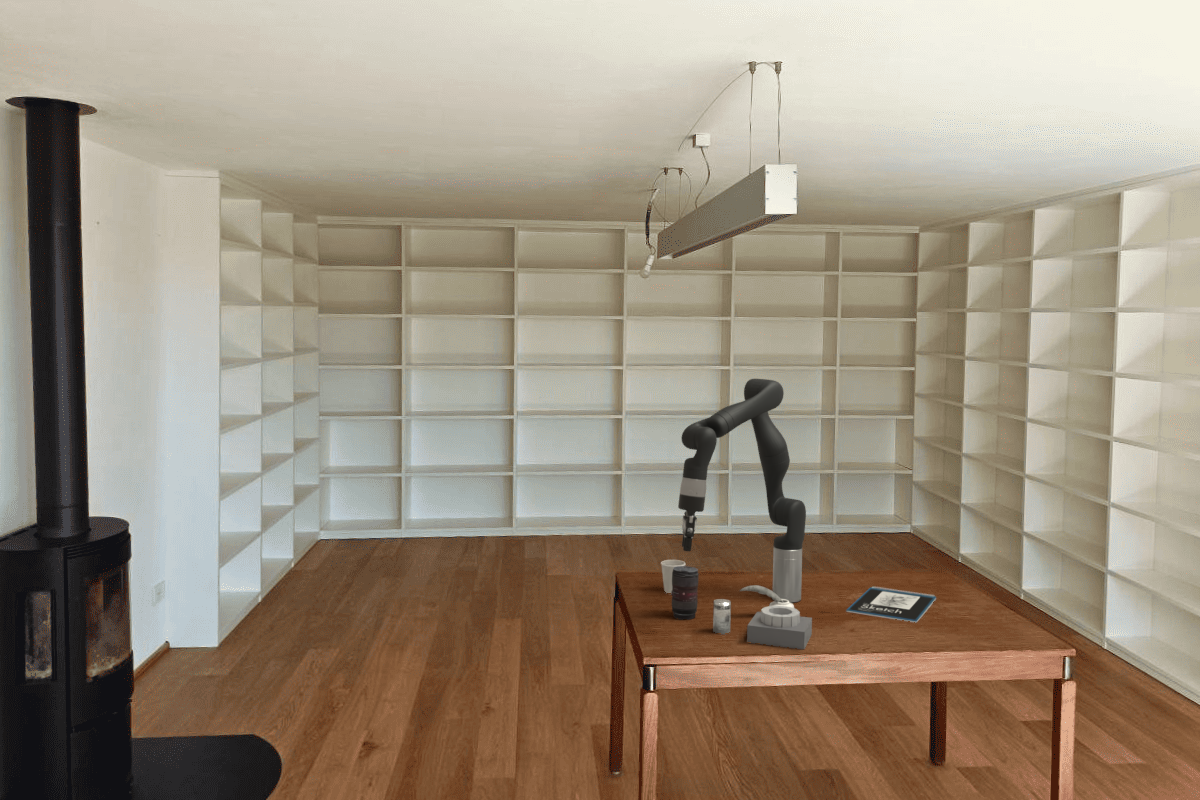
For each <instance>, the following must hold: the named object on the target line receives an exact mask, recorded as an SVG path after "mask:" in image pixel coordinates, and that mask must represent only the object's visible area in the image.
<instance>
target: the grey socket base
mask: <svg viewBox="0 0 1200 800" xmlns="http://www.w3.org/2000/svg"><path fill="white" fill-rule="evenodd" d="M794 608H795V607H794ZM794 608H791V607H786V606H764V607H762V609H760V611H756V612H755V614H754V616H753V617H752V618H751V620H750V621H749V623H748V624H747V630H746V631H747V633H746V636H747V638H746V643H747V642H751V643H750V644H755V643H760V644H759V645H763V644H766V645H765V646H771V645H773V647H779V646H780V648H787V647H789V648H788V649H795V648H797V649H798V650H803V649H804V650H805V649H806V646H807V645H808V643H809V640H810V639H811V637H812V635H813V634H812V633H813V632H812V631H813V617H807V616H801V614H800V613H801V612H800V611H799V610H798V609H797V608H795V609H794ZM797 649H796V650H797Z"/></svg>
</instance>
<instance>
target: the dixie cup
mask: <svg viewBox="0 0 1200 800" xmlns="http://www.w3.org/2000/svg"><path fill="white" fill-rule="evenodd" d="M660 565H661V573H662V583H663V590H664V591H665V592H666V593H665V592H664V593H665V594H667V593H671V592H672V571H673V568H674V567H677V566H687V565H686V562H685V561H683V560H679V559H665V560H662V561H661V562H660Z"/></svg>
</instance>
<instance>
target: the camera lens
mask: <svg viewBox="0 0 1200 800" xmlns="http://www.w3.org/2000/svg"><path fill="white" fill-rule="evenodd" d="M698 587H699V569H698V568H696V567H695V566H688V565H685V566H677V567H674V568H673V571H672V592H671V594H670V595H671V608H672V609H671V611H672V613H673V617H674V618H675V619H677V618H678V619H677V620H683V619H687V620H692V619H694V618H695V617H696V613H697V612H698Z"/></svg>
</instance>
